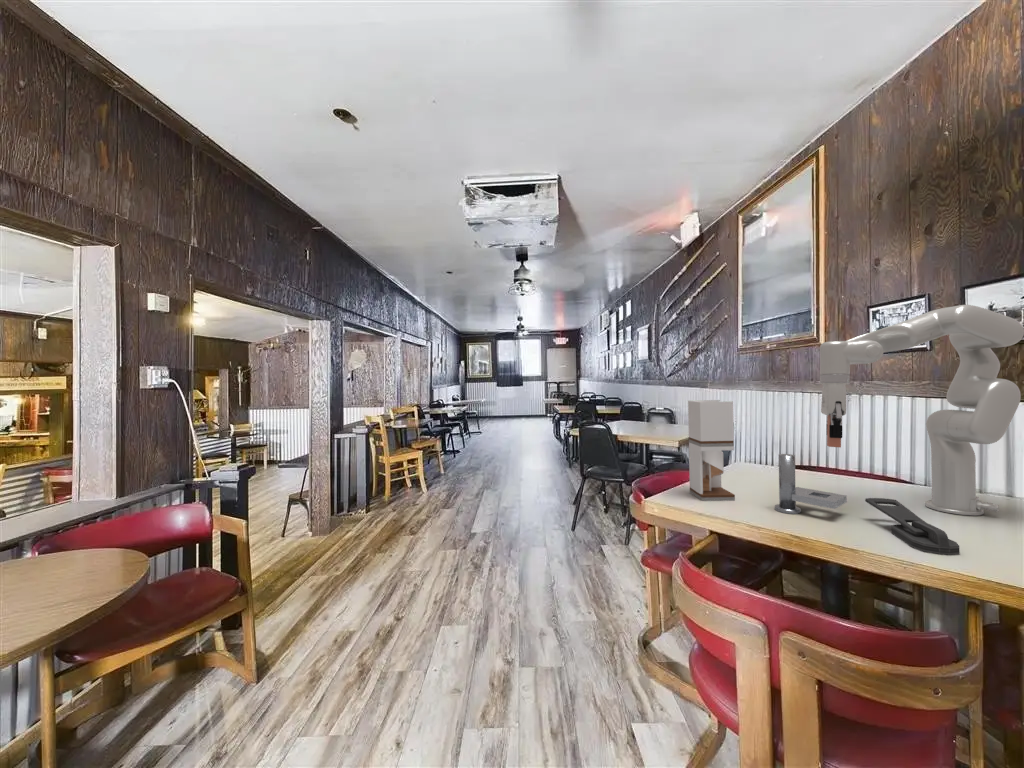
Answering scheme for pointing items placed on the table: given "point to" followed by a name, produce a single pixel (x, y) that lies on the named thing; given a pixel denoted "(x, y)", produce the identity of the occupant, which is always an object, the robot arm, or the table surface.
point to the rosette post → (800, 490)
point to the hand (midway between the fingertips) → (834, 436)
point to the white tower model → (709, 447)
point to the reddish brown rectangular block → (832, 441)
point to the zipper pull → (915, 529)
